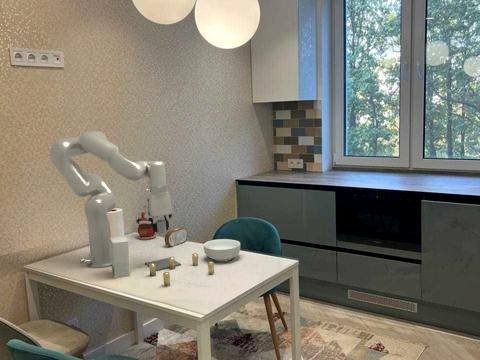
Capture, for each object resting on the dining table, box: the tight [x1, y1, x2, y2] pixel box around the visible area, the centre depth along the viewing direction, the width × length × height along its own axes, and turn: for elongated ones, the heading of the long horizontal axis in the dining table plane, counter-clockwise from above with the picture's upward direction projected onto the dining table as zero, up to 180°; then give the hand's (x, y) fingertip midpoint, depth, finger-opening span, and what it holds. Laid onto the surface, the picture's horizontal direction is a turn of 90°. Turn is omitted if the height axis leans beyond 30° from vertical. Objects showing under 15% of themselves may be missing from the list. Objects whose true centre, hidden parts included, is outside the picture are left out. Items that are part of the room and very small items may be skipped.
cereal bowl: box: [203, 238, 241, 262], centre depth 212 cm, size 17×17×7 cm
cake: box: [135, 204, 157, 240], centre depth 252 cm, size 11×9×18 cm
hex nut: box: [155, 218, 168, 234], centre depth 205 cm, size 4×5×5 cm
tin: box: [164, 226, 189, 247], centre depth 238 cm, size 15×3×8 cm, turn 144°
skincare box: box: [110, 235, 131, 280], centre depth 196 cm, size 8×7×16 cm
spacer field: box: [148, 252, 215, 287], centre depth 195 cm, size 22×19×5 cm
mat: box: [144, 257, 182, 272], centre depth 208 cm, size 12×12×1 cm
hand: (160, 230), depth 205 cm, fingers closed on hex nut, 4 cm apart
